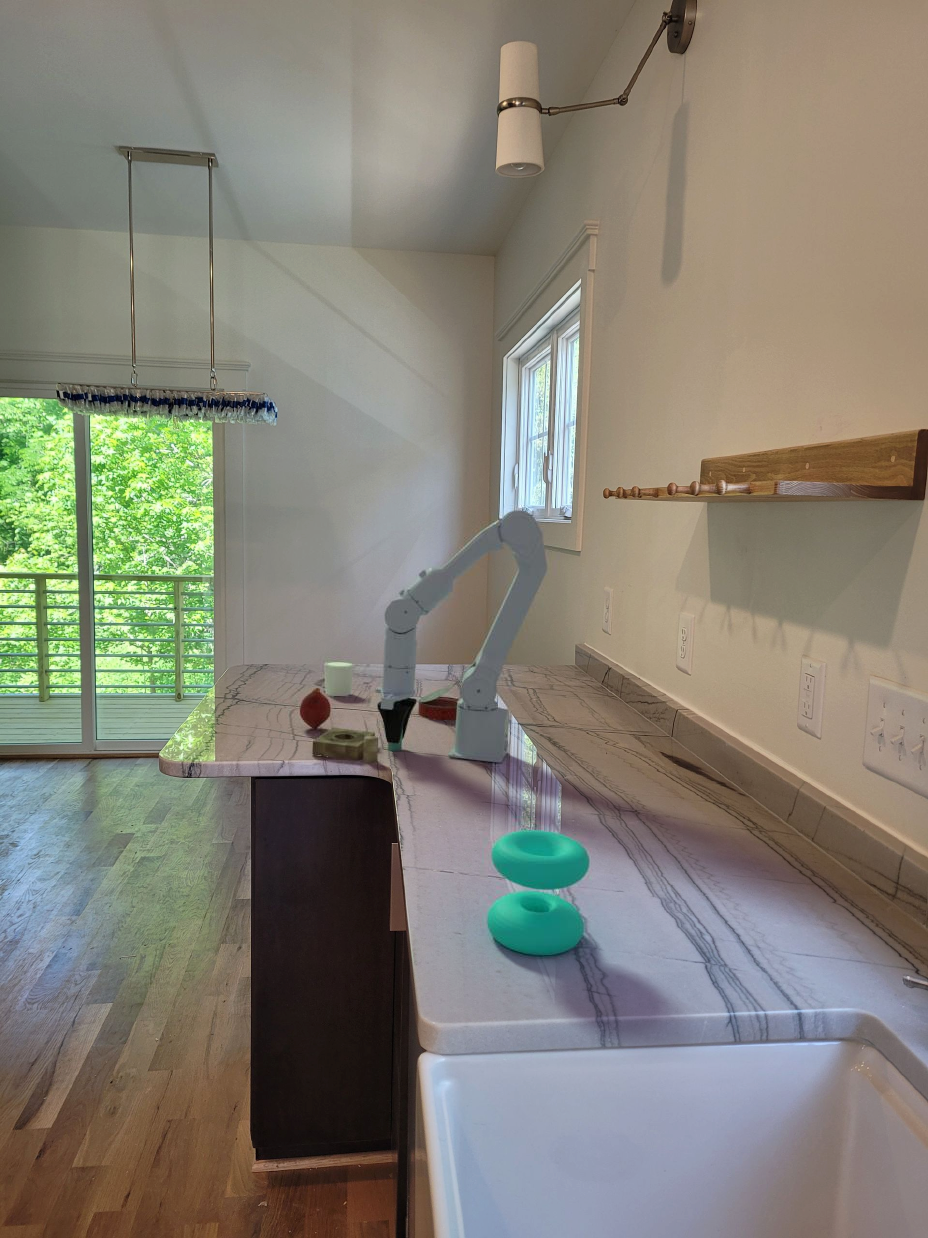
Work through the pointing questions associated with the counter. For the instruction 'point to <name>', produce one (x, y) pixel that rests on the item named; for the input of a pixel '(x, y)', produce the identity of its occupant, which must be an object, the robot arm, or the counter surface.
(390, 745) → the long dowel
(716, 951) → the counter surface
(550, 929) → the donuts
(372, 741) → the short dowel
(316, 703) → the onion
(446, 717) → the canned food
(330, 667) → the white short cylinder
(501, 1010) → the counter surface
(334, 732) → the board
